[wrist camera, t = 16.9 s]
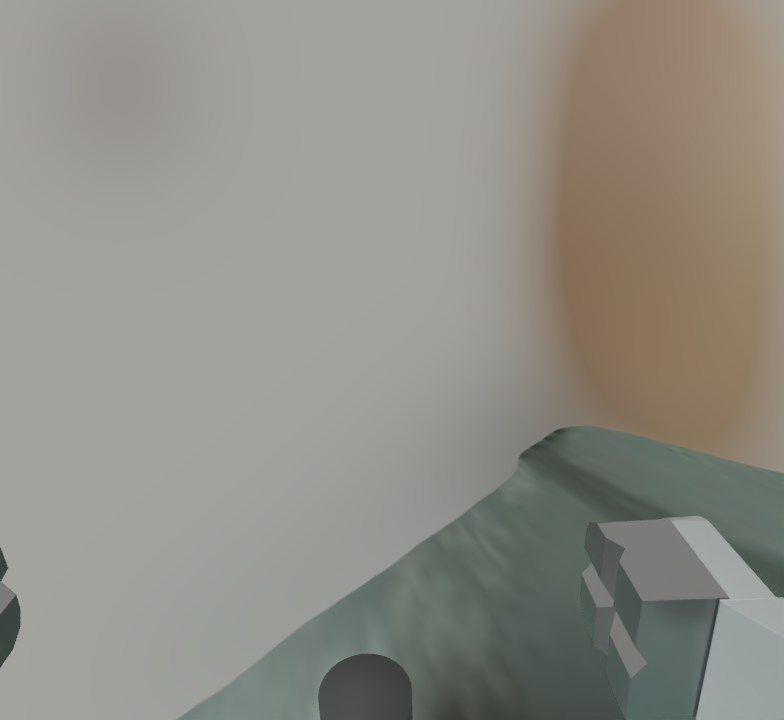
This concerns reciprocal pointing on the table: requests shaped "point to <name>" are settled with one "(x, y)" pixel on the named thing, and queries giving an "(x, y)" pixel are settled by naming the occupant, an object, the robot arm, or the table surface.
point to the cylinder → (366, 690)
